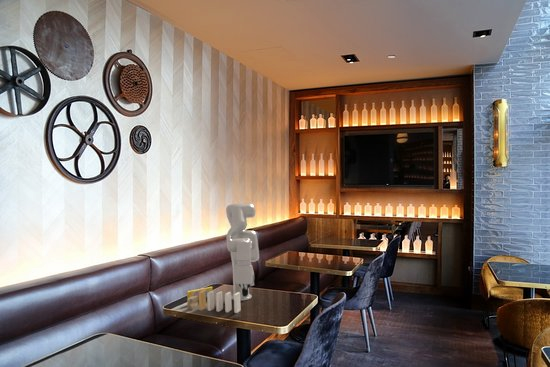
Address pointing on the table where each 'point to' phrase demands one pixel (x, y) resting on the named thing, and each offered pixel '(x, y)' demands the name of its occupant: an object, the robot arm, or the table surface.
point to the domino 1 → (202, 300)
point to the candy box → (196, 293)
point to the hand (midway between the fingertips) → (245, 295)
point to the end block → (192, 302)
